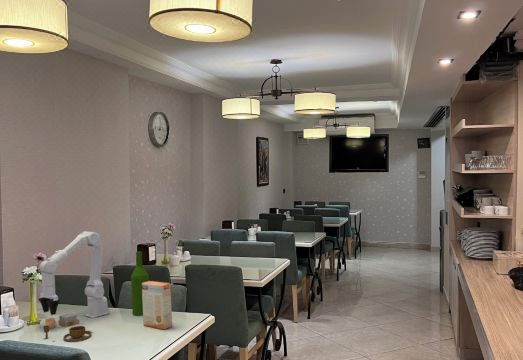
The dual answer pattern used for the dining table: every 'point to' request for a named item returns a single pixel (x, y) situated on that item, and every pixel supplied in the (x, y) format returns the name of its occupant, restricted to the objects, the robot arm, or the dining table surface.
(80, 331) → the place setting
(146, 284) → the cracker box
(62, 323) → the walnut block
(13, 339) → the dining table surface
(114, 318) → the dining table surface
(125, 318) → the dining table surface
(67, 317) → the slate block
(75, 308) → the dining table surface
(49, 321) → the terracotta cylinder
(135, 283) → the wine bottle
